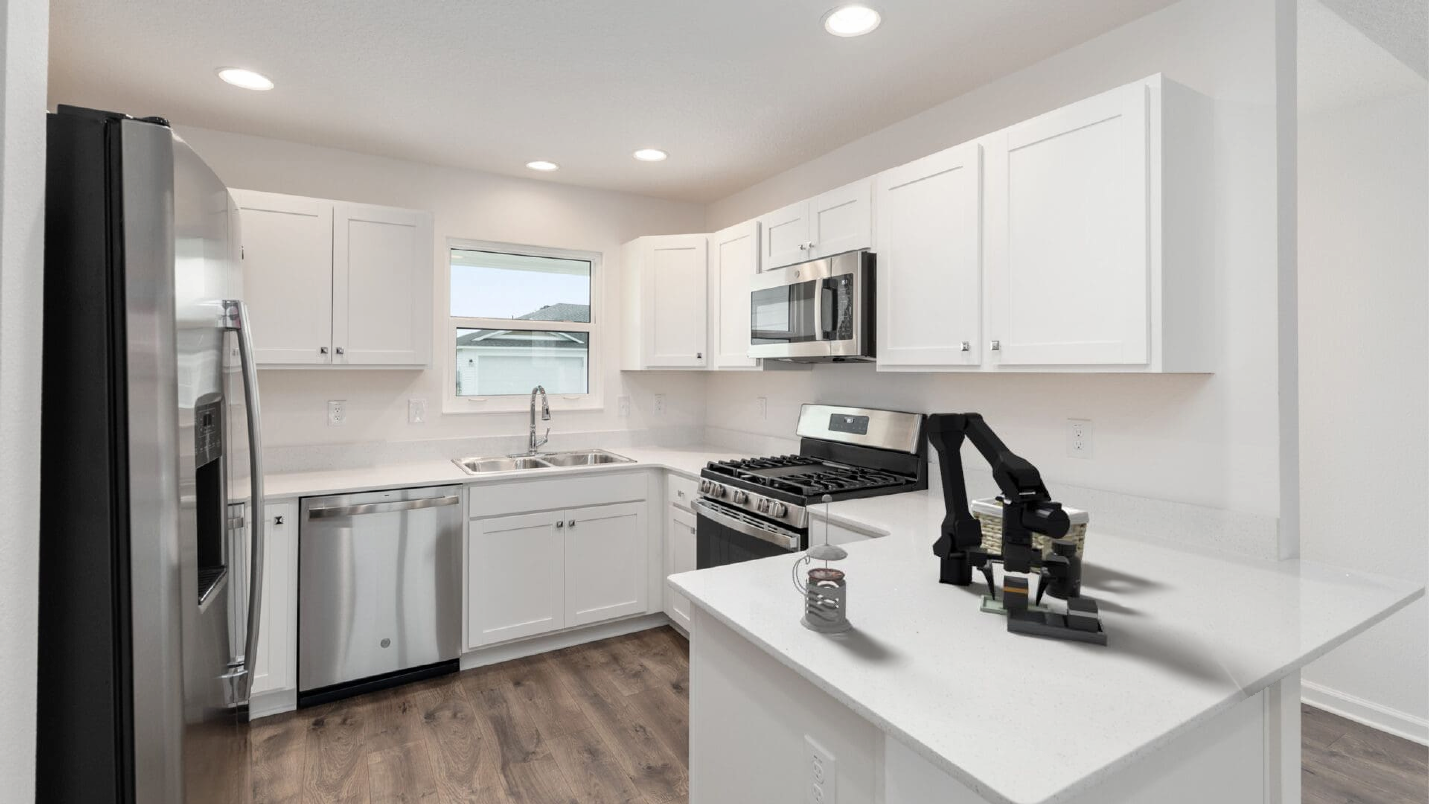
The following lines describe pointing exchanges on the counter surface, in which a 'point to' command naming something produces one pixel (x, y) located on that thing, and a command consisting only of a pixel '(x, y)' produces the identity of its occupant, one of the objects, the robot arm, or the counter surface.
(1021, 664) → the counter surface
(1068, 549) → the supplement bottle
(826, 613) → the french press
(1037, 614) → the strip
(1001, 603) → the tray
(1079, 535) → the storage basket
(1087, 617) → the twin plug
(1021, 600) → the dark grey striped block
